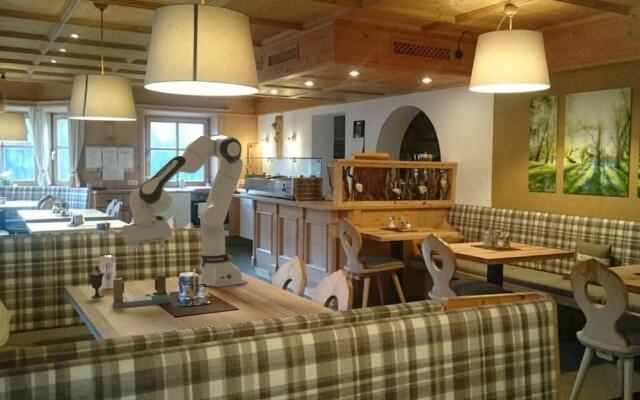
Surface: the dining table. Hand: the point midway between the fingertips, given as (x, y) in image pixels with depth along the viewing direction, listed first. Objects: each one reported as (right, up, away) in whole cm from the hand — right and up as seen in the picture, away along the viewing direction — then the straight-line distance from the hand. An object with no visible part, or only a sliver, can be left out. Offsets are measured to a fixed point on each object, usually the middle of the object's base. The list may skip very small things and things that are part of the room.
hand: (152, 249), depth 251 cm
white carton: (-27, -20, +23) cm, 41 cm away
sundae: (-25, -21, +3) cm, 33 cm away
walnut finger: (+6, -19, -9) cm, 22 cm away
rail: (-1, -21, -12) cm, 24 cm away
